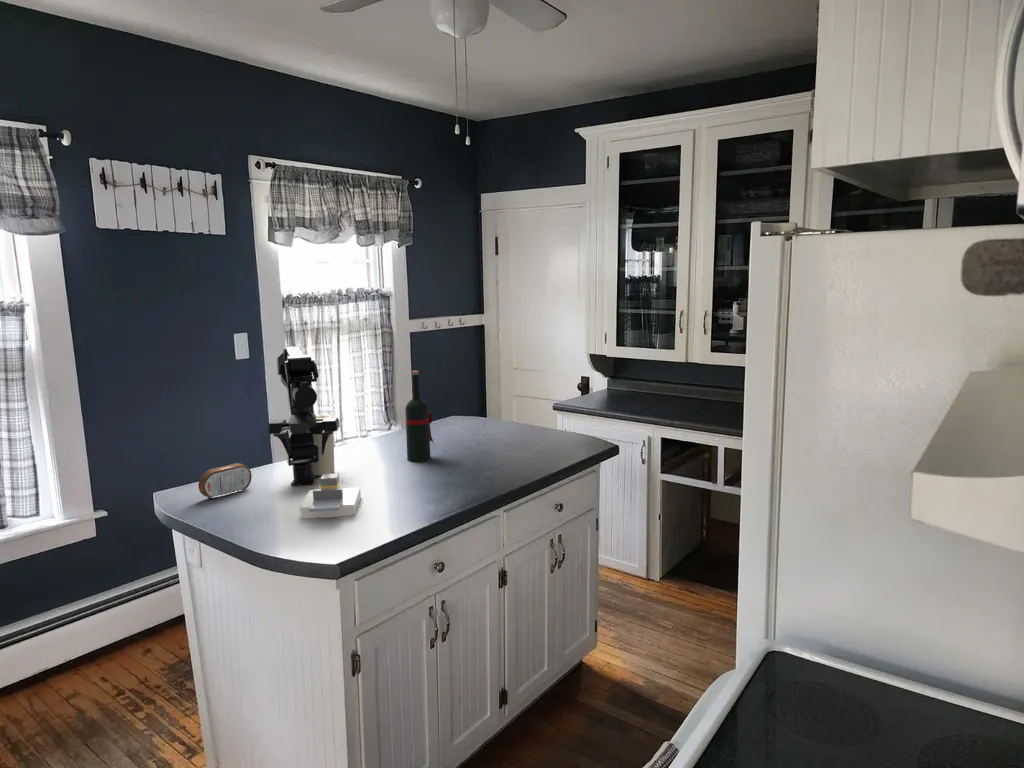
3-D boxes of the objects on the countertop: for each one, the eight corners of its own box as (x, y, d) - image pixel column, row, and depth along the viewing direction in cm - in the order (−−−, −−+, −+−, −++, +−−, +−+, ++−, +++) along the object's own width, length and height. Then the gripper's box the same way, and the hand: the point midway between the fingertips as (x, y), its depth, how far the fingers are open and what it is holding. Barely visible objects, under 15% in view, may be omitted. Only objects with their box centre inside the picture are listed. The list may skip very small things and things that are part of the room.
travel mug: (326, 476, 209) (325, 419, 206) (303, 475, 211) (301, 418, 208) (338, 470, 217) (337, 415, 214) (316, 468, 218) (314, 413, 216)
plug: (325, 505, 185) (322, 474, 183) (340, 504, 185) (338, 473, 184) (322, 511, 181) (320, 478, 179) (338, 510, 181) (336, 478, 180)
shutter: (314, 501, 178) (313, 489, 178) (343, 500, 179) (342, 488, 178) (309, 511, 171) (308, 499, 170) (339, 510, 172) (338, 497, 171)
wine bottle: (440, 456, 230) (437, 369, 224) (417, 463, 222) (413, 373, 217) (425, 452, 235) (421, 367, 229) (402, 459, 227) (398, 371, 222)
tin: (248, 486, 202) (246, 459, 201) (254, 488, 200) (252, 461, 199) (199, 500, 191) (196, 472, 189) (204, 503, 189) (201, 474, 187)
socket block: (310, 500, 189) (309, 490, 189) (360, 497, 190) (360, 487, 190) (300, 518, 176) (299, 507, 175) (354, 515, 177) (354, 504, 176)
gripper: (260, 408, 179) (265, 465, 182) (332, 405, 181) (335, 461, 184) (270, 400, 190) (274, 453, 193) (338, 397, 192) (341, 450, 195)
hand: (306, 455), depth 191 cm, fingers open, 9 cm apart
